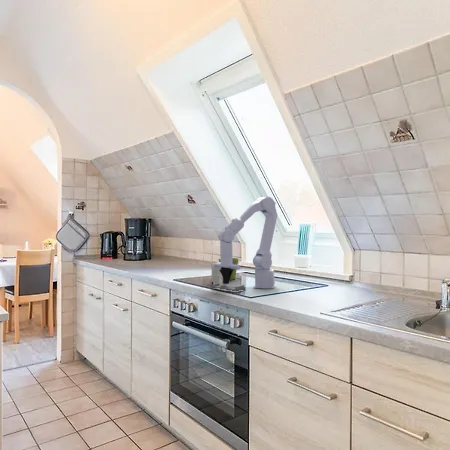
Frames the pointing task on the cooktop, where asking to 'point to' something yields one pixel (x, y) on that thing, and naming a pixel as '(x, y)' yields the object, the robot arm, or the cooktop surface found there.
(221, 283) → the fader knob
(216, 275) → the small box
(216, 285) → the console strip
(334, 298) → the cooktop surface
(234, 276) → the plant pot
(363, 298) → the cooktop surface
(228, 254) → the robot arm
